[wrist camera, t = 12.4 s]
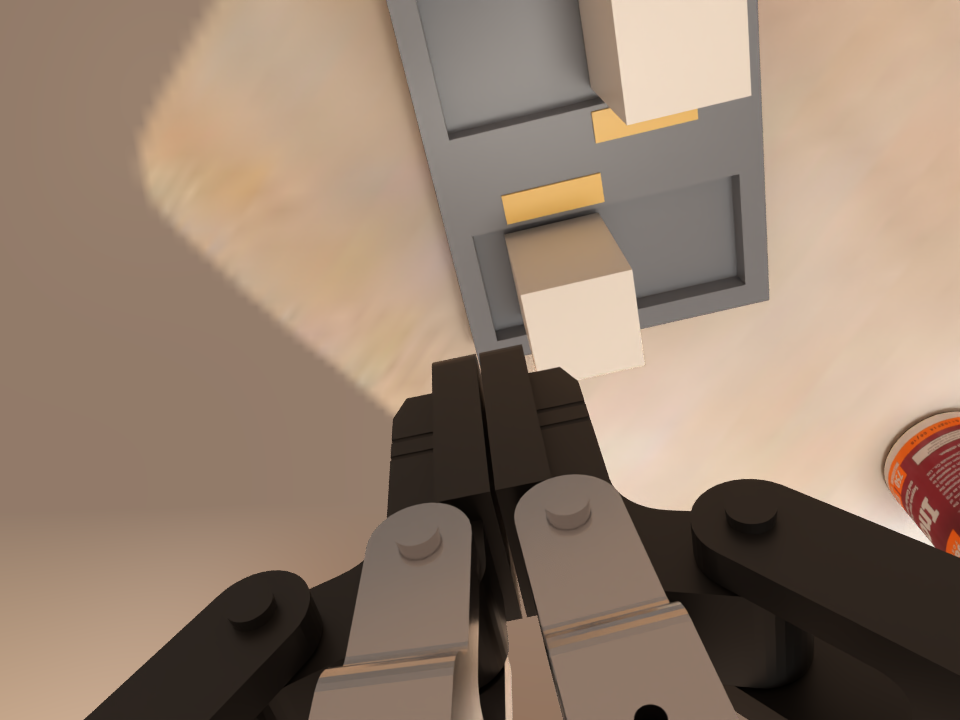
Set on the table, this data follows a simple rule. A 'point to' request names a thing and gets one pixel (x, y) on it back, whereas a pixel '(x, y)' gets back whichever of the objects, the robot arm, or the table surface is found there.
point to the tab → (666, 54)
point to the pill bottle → (929, 478)
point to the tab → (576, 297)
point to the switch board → (578, 162)
